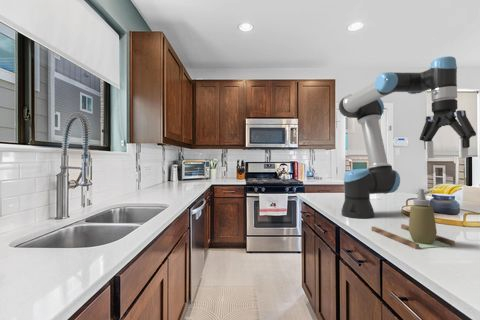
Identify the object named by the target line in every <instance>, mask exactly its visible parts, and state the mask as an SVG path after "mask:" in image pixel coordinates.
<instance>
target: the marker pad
mask: <svg viewBox="0 0 480 320" xmlns="http://www.w3.org/2000/svg"><path fill="white" fill-rule="evenodd" d="M404 238H405V239H407V240H410V241H412V242H415V241H413V240H412V238H411V236H409V237H404ZM415 243H417V244H419V249H420V248H421V249H429V248H430V249H431V247H433V248H443V247H442V246H444V247H451V245H448V244H445V243H442V242H440V241H437V240H434V242H433V243H430V244H424V243H418V242H415Z"/></svg>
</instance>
